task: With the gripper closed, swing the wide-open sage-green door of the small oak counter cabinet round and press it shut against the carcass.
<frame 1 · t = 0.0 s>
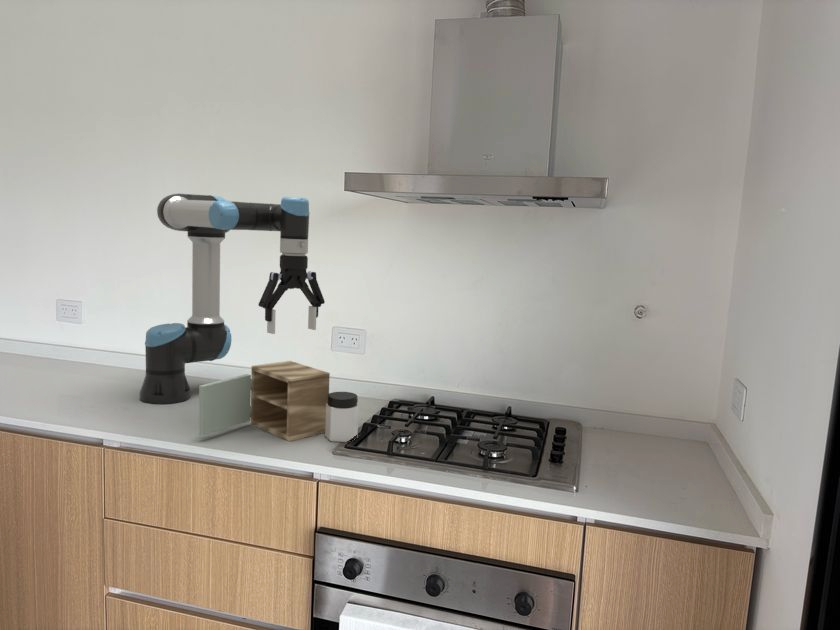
hand: (292, 331, 185), 28 cm above the worktop, fingers open, 13 cm apart
jar: (341, 438, 184), on the worktop
cabinet: (288, 427, 190), on the worktop
door: (225, 402, 182), point 8 cm above the worktop, hinge at 75.0°
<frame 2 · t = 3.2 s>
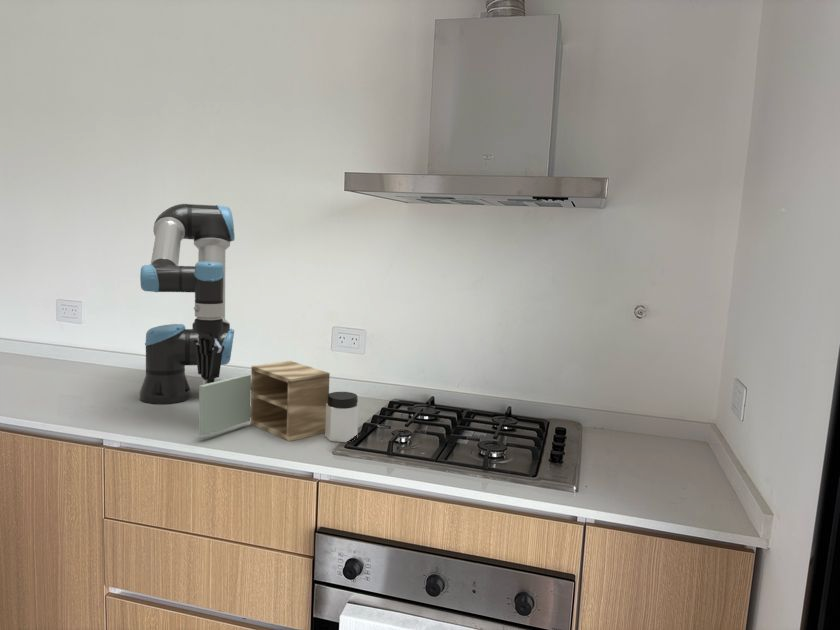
hand: (208, 400, 187), 7 cm above the worktop, fingers closed
nothing on the worktop moved.
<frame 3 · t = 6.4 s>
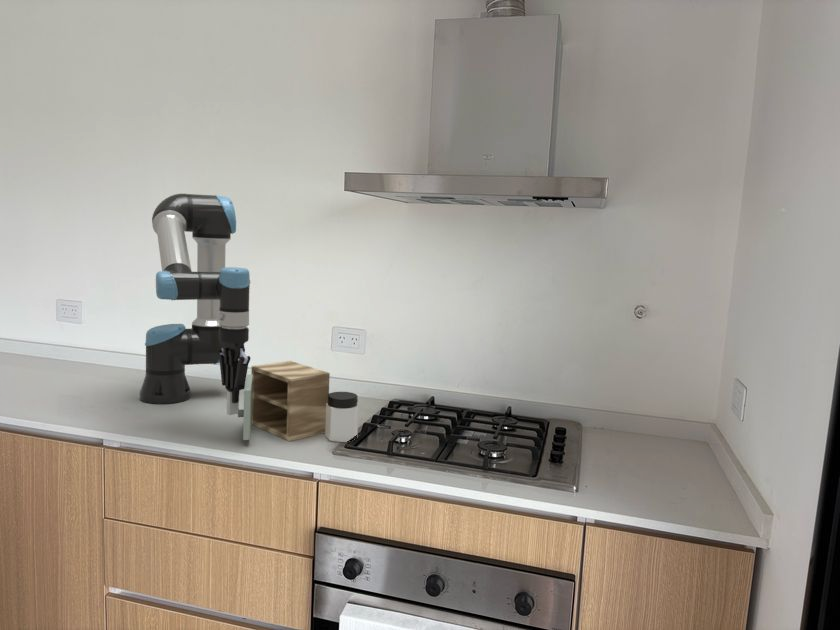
hand: (232, 413, 178), 7 cm above the worktop, fingers closed
door: (245, 405, 180), point 8 cm above the worktop, hinge at 33.7°, touching hand
everything else where it was.
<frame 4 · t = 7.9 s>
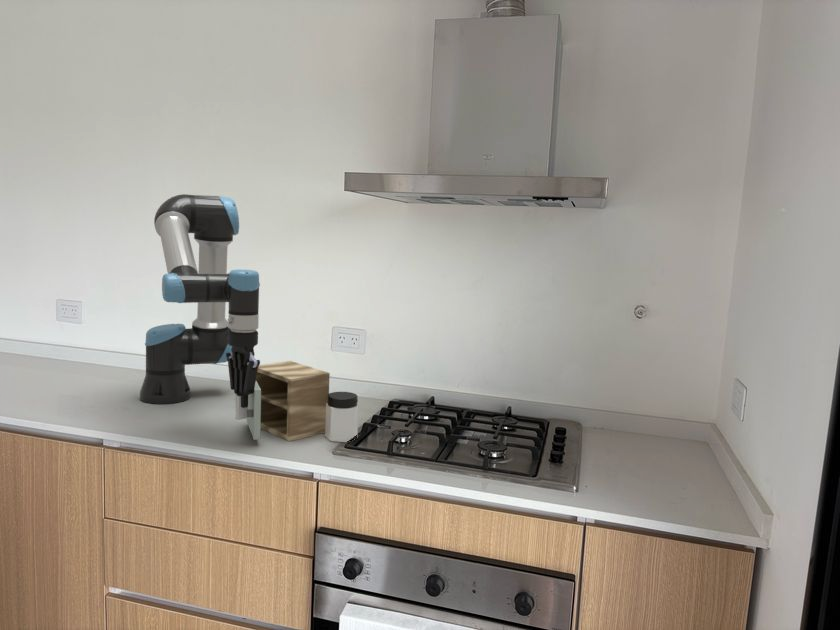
hand: (241, 418, 175), 6 cm above the worktop, fingers closed
door: (250, 405, 181), point 8 cm above the worktop, hinge at 25.1°, touching hand
everything else where it was.
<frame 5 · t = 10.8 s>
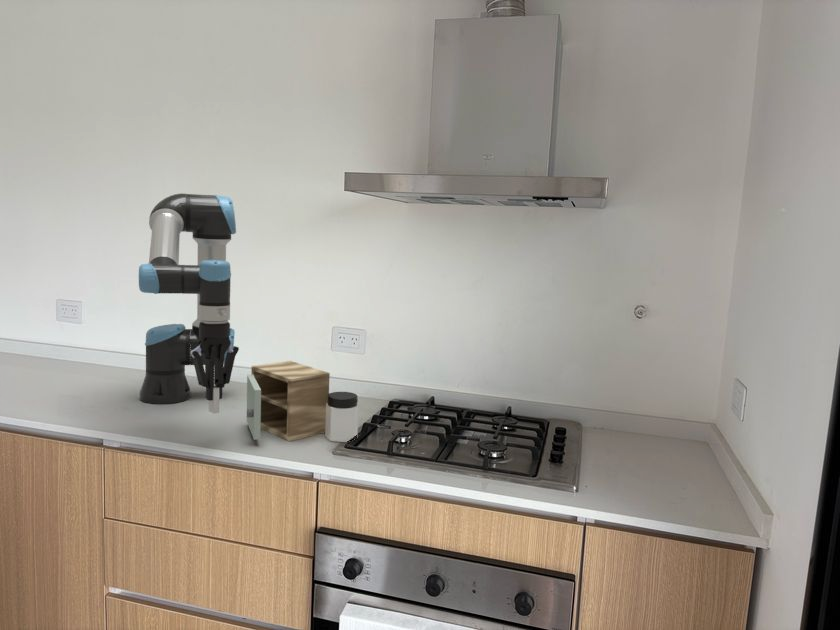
hand: (213, 411, 172), 9 cm above the worktop, fingers closed
door: (250, 405, 181), point 8 cm above the worktop, hinge at 25.1°
everything else where it was.
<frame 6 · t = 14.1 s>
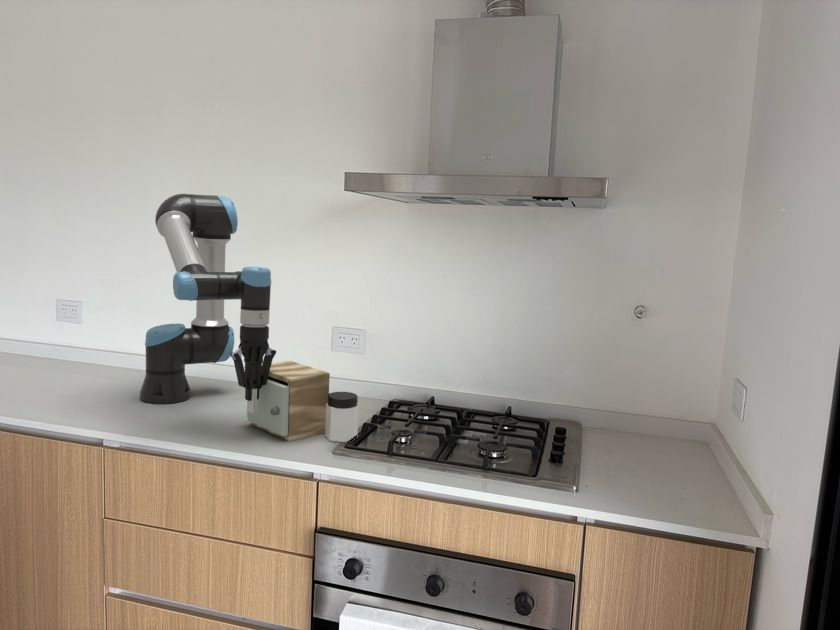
hand: (251, 411, 180), 7 cm above the worktop, fingers closed
door: (264, 404, 182), point 8 cm above the worktop, hinge at -0.2°, touching hand
everything else where it was.
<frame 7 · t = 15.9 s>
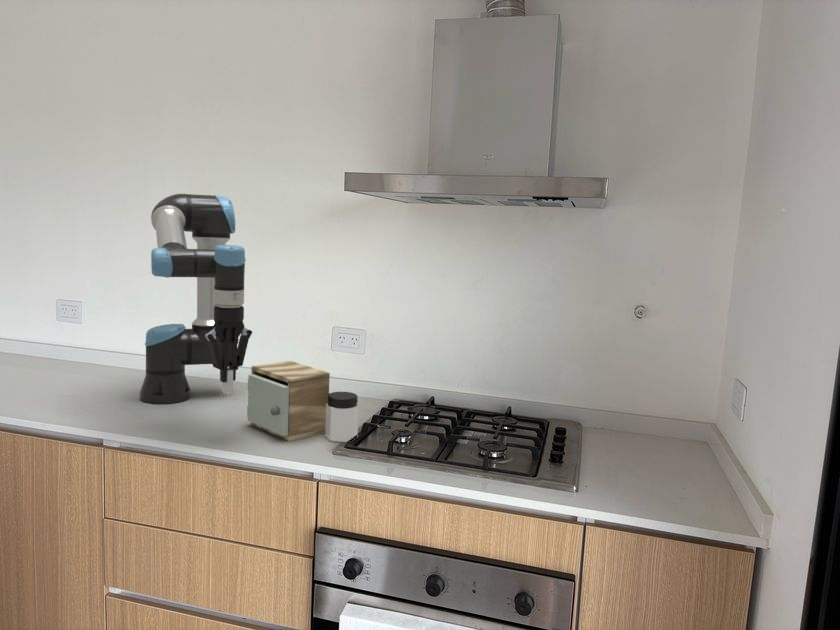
hand: (227, 393, 176), 12 cm above the worktop, fingers closed
door: (264, 404, 182), point 8 cm above the worktop, hinge at -0.4°
everything else where it was.
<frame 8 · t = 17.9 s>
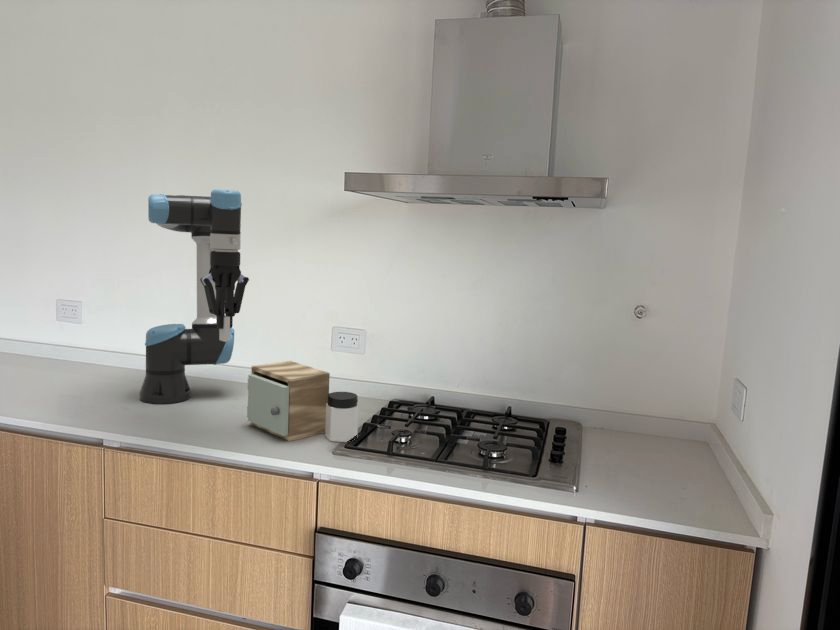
hand: (224, 340, 175), 26 cm above the worktop, fingers closed
nothing on the worktop moved.
at the end: door at +0° (first picture: +75°) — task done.
